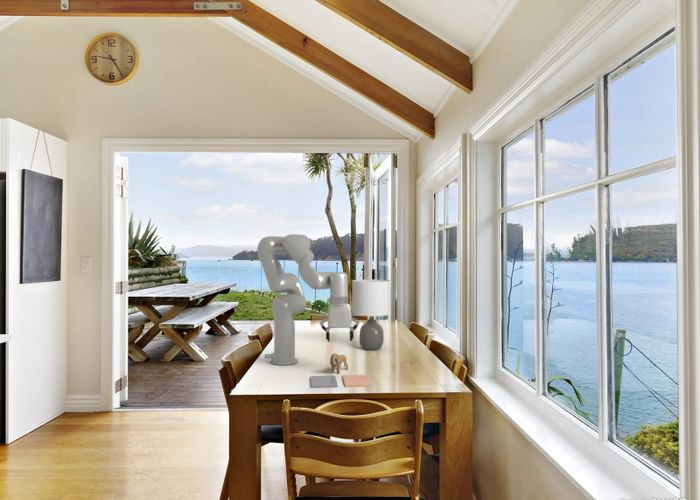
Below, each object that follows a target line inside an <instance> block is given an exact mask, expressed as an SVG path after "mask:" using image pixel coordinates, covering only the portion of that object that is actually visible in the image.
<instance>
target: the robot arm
mask: <svg viewBox="0 0 700 500" xmlns="http://www.w3.org/2000/svg"><path fill="white" fill-rule="evenodd" d="M311 245H312V244H311V240H310V239H309V237H308V236H307V235H304V234H291V233H290V234H287V235H285V236H275V235H271V236H265V237H263V238H261V239H260V241H259V242H258V244H257V249H256V250H257V251H256V252H257V257H258V260H259V262H260V264H261V265H262V266H261V267H262V268H263V272H264V274H265V275H264V276H265V278H266V281H267V285H268V287H269V290H270V292H272V293H273V294H280V295H278V296H276V297H275V298H274V299H273V301H272V304H271V307H272V308H271V309H272V314H273V324H274V325H273V327H274V331H273V332H274V333H273V334H274V335H273V337H274V338H273V341H274V342H273V345H274V346H273V348H274V349H273V350H274V351H273V353H265V354H264V359H271V360H270V363H271V364H272V365H276V366H290V365H294V364H298V363H299V359H298V358H296V356H295V355H296V354H295V353H296V351H295V347H296V346H295V345H296V344H295V343H296V337H295V336H296V328H295V327H296V325H295V320H294V318H293V315H296V314H301V313H303V312H305V310H306V308H307V301H306V297H305V296H306V295H305V293H304V290H303V287H302V284H301V282H300V279H299V277H298V276H297V275H296V274H294V273H291V272H284V270H283V267H282V264H281V262H280V261H279V259H278V258H277V257H276V255H289V256H290V257H291V258H292V259H293V261H294V262H295V263H296V264H297V266H298V271H299V272H298V273H299V276H300V278H301V279H302V280H303V281H304V283H306V285H307V286H308V287H309V288H311V289H313V290H315V291H316V290H328V289H329V290H330V291H329V292H330V297H329V298H327V299H326V301H327V303H330V304H328V308H327V309H328V310H327V317H326V318H324V319H322V320H320V321H319V322H318V323H319V325H320V327H321V329H322V330H323V331H324V332H325V339H326V340H327V342H328V343H329V342H331V339H330V338H331V337H330V336H331V335H330V330H331V329H345V328H346V329H348V328H349V341H350V342H353V339H354V338H355V337H354V332H355V331H356V330H357V328H358V326H359V324H360V322H361V321H360V320H359V319H356V318H354V317H352V308H351V305H350V303H349V296H348V295H349V289H348V286H349V283H348V273H346V272H344V271H343V272H342V271H340V272H339V271H337V272H333V271H316V269H315V268H314V267H313V266H312V265H311V263H313V260H314V258H315V254H314V253H313V252H312V251H311ZM353 322H354V323H355V324H354V325H352V323H353ZM325 323H327V327H326V326H325Z"/></svg>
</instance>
